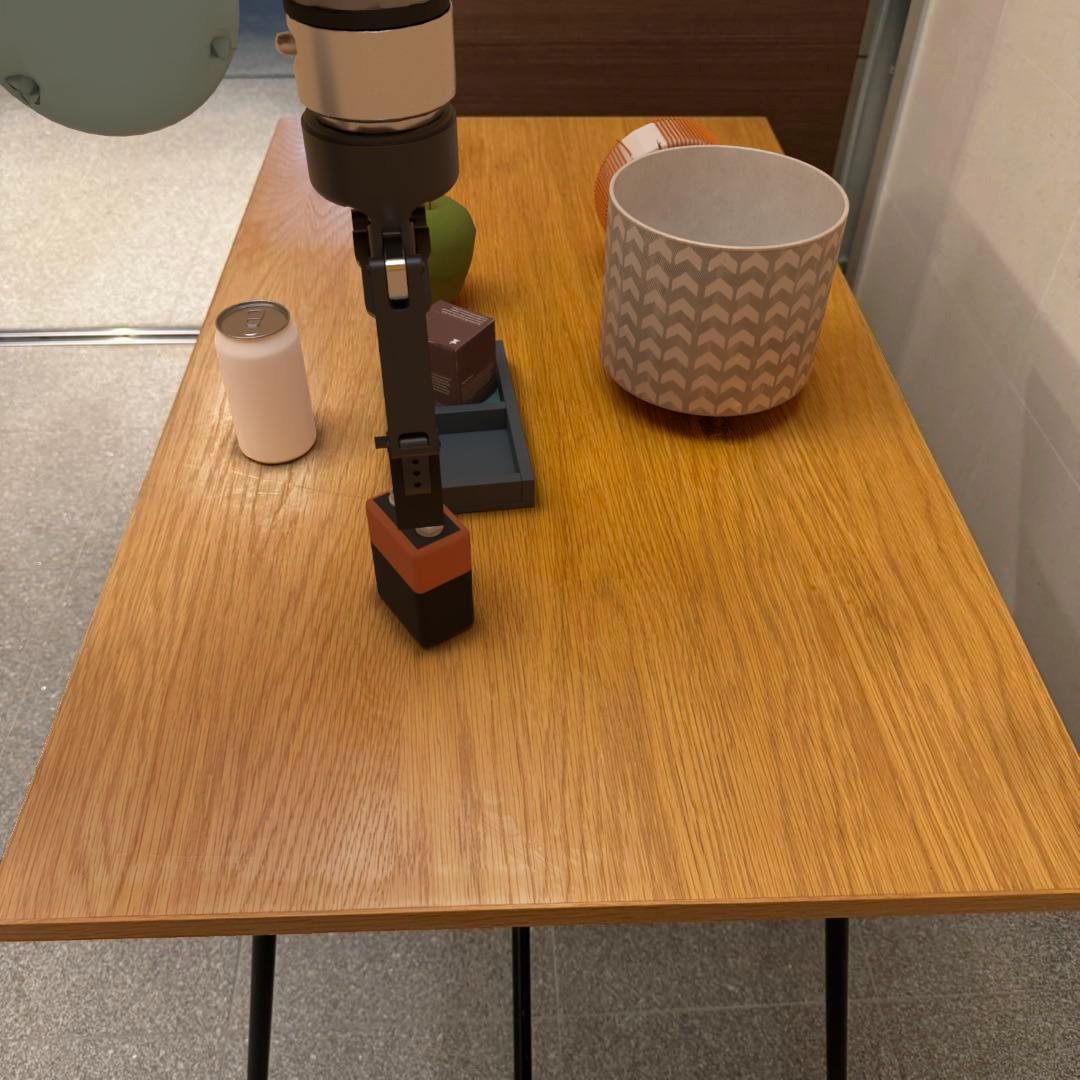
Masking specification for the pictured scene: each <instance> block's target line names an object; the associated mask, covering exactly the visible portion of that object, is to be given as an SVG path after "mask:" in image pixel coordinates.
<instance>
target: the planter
mask: <svg viewBox="0 0 1080 1080" xmlns="http://www.w3.org/2000/svg"><path fill="white" fill-rule="evenodd" d="M849 212H850V200H849V197H848V194H847V193H846V191H845V189H844V188H843V187H842V186H841V184H840V183H838V181H836V179H835V178H833V177H832V176H830V175H829V174H828V173H826V172H825V171H824V170H821V169H820V168H818V167H816V166H814V165H812V164H811V163H810V164H809V163H807V162H805V161H804V160H803V161H802V160H800V159H798V158H794V157H792V156H788V155H786V154H783V153H782V154H781V153H778V152H774V151H770V150H765V149H760V148H754V147H748V146H747V147H746V146H739V145H729V144H722V145H691V146H681V147H673V148H667V149H663V150H658V151H655V152H651V153H648V154H645V155H642V156H640V157H637V158H635V159H633V160H631V161H630V162H628V163H626V164H625V165H623V166H622V167H621V168H620V169H619V170H618V171H617V172H616V173H615V174H614V175H613V177H612V179H611V182H610V185H609V197H608V213H607V229H606V233H605V247H604V260H603V261H604V263H603V277H602V278H603V279H602V295H601V310H600V311H601V313H600V327H599V342H598V352H599V358H600V361H601V365H602V366H603V368H604V370H605V371H606V373H607V374H608V376H609V377H610V378H611V379H612V380H613V381H614V382H615V383H616V385H618V386H619V387H621V388H622V389H623V390H625V391H626V392H628V393H629V394H631V395H632V396H634V397H636V398H638V399H640V400H642V401H645V402H646V403H649V404H651V405H654V406H656V407H659V408H661V409H666V410H669V411H673V412H677V413H681V414H688V415H692V416H693V415H695V416H702V417H703V416H704V417H735V416H736V417H737V416H745V415H751V414H755V413H760V412H764V411H767V410H770V409H773V408H775V407H778V406H780V405H783V404H784V403H786V402H787V401H790V400H791V399H792V398H793V397H795V396H797V394H798V393H800V392H801V391H802V389H803V388H804V387H805V386H806V384H807V382H808V380H809V379H810V376H811V373H812V369H813V365H814V360H815V356H816V351H817V349H818V345H819V344H818V343H819V340H820V335H821V331H822V327H823V322H824V318H825V314H826V310H827V306H828V302H829V297H830V293H831V289H832V284H833V280H834V276H835V272H836V268H837V263H838V259H839V255H840V251H841V248H842V242H843V239H844V234H845V230H846V225H847V222H848V217H849Z"/></svg>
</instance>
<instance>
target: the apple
mask: <svg viewBox="0 0 1080 1080" xmlns="http://www.w3.org/2000/svg"><path fill="white" fill-rule="evenodd" d="M424 204H425V210H426V220H427V226H429V231H430V241H431V259H430V260H429V262H428V269H429V279H430V288H431V298H432V301H431V306H432V305H433V304H435V303H436V302H437V301H439V300H442V301H445V302H447V303H450V304H452V302H453V301H454V300H455V299H456V297H457V296H458V295H459V294H460V293H461V292H462V290H463V287H464V285H465V282H466V279H467V276H468V274H469V270H470V269H471V264H472V261H473V256H474V251H475V243H476V235H477V228H476V226H475V223H474V220H473V218H472V215H471V214H470V212H469V211H468V210H467V208H466V207H465V206H463V204H461V203H459V202H458V201H457V200H455V199H453V198H452V197H451V196H447V195H446V194H445V195H443V196H442V197H440V198H438V199H436V200H434V201H432V202H426V203H424Z"/></svg>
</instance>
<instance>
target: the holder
mask: <svg viewBox="0 0 1080 1080" xmlns="http://www.w3.org/2000/svg"><path fill="white" fill-rule="evenodd" d="M496 370H497V389H496V390H495V391H494V392H493V393H491V395H489V396H488V397H487V398H486V399H484V400H483V401H482V402H481V403H479V404H466V405H453V406H441V407H435V416H436V426H437V427H438V435H439V438H440V440H441V448H440V452H439V457H440V469H441V482H442V495H443V504H444V505H445V506H446V507H447V508H448V509H449V510H450V511H451V512H452V513H453V514H454V515H455V514H463V513H475V512H477V513H478V512H488V511H497V510H509V509H518V508H530V507H535V491H536V489H535V487H536V486H535V483H536V482H535V481H536V480H535V475H534V471H533V466H532V463H531V458H530V457H531V456H530V453H529V449H528V445H527V441H526V435H525V431H524V427H523V424H522V419H521V415H520V410H519V406H518V401H517V397H516V393H515V389H514V385H513V384H514V383H513V381H512V376H511V371H510V368H509V362H508V359H507V354H506V350H505V346H504V340H503V339H497V340H496Z"/></svg>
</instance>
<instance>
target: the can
mask: <svg viewBox="0 0 1080 1080" xmlns="http://www.w3.org/2000/svg"><path fill="white" fill-rule="evenodd" d="M214 325H215V328H216V330H215V334H214V340H213V343H214V347H215V353H216V357H217V362H218V366H219V371H220V374H221V378H222V383H223V386H224V391H225V395H226V399H227V402H228V407H229V411H230V415H231V419H232V423H233V427H234V432H235V435H236V438H237V442H238V446H239V449H240V451H241V452H242V453H243V454H244V455H245V456H246V457H247V458H250V459H251V460H253V461H255V462H257V463H261V464H265V465H276V464H277V465H279V464H285V463H289V462H292V461H296V460H297V459H299V458H302V457H303V456H304V455H305V454H307V453H308V452H309V451H310V449H311V448H312V447H313V446H314V445H315V442H316V440H317V428H316V423H315V417H314V416H315V415H314V410H313V405H312V399H311V393H310V388H309V382H308V376H307V370H306V365H305V360H304V354H303V348H302V343H301V338H300V332H299V330H298V327H297V325H296V323H295V322H294V321H293V320H292V318H291V313H290V311H289V309H288V308H287V307H286V306H285V305H284V304H281V303H279V302H276V301H273V300H268V299H251V300H244V301H240V302H237V303H234V304H231V305H230V306H227V307H226V308H224V309H222V310H221V312H219V313H218V314H217V316H216V318H215V323H214Z"/></svg>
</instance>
